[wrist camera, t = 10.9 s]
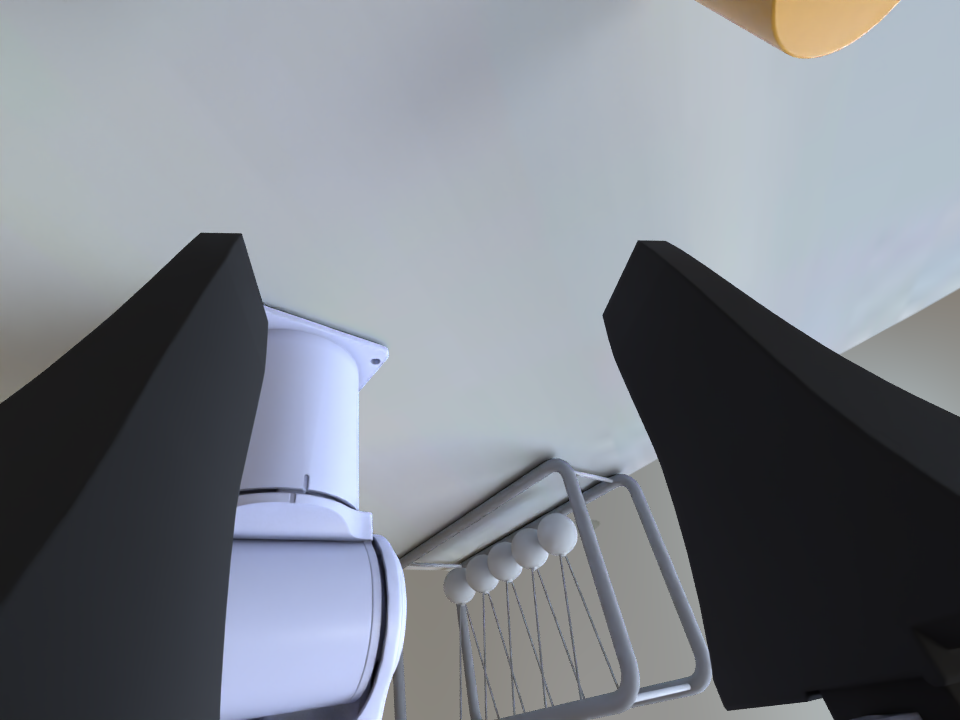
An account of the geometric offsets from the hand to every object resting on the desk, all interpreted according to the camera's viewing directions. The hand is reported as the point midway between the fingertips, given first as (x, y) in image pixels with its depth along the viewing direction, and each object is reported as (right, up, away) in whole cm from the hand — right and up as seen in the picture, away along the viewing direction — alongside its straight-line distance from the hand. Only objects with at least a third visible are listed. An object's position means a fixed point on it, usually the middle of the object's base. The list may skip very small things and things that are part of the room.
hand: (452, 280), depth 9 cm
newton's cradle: (+2, -19, +41) cm, 45 cm away
